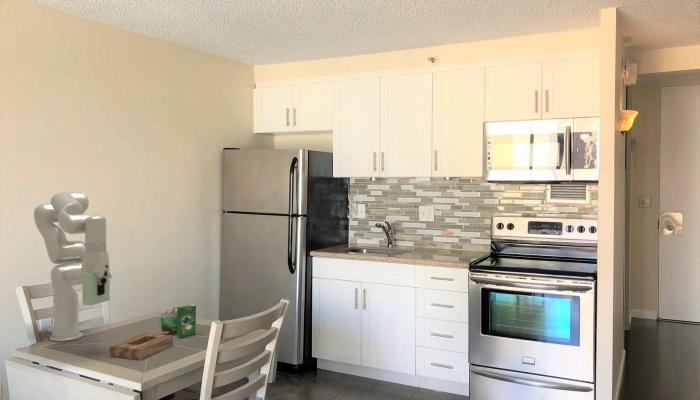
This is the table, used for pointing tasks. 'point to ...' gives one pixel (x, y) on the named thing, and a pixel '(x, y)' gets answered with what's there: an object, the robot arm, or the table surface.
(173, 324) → the food container
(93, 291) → the pale green upright block
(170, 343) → the slotted block
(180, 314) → the coffee box
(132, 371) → the table surface
